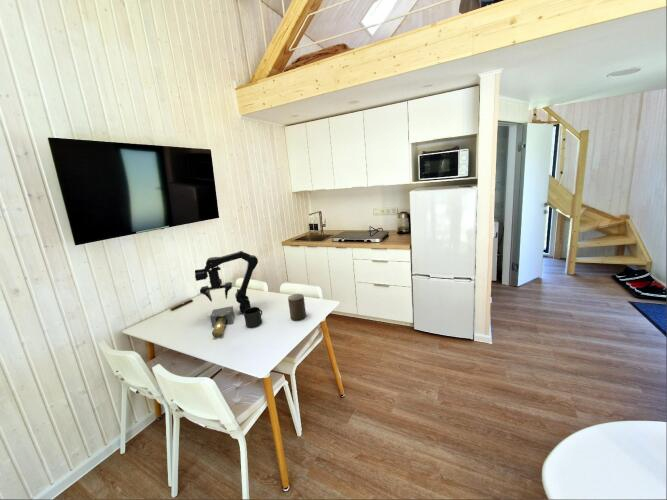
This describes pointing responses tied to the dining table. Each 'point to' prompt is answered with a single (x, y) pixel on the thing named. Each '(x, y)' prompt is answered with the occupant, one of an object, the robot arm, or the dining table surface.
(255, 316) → the mug
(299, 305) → the pillar candle
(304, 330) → the dining table surface
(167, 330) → the dining table surface
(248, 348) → the dining table surface
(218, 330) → the gold cylindrical piece
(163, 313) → the dining table surface
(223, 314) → the block
